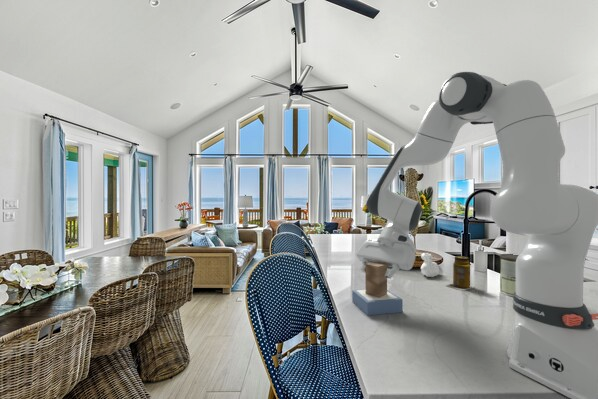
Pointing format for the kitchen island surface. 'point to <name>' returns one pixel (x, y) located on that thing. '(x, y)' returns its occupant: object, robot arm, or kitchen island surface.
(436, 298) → the kitchen island surface
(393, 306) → the pedestal
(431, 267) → the white rounded piece
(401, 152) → the robot arm
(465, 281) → the condiment
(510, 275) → the coffee can
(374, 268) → the walnut block
